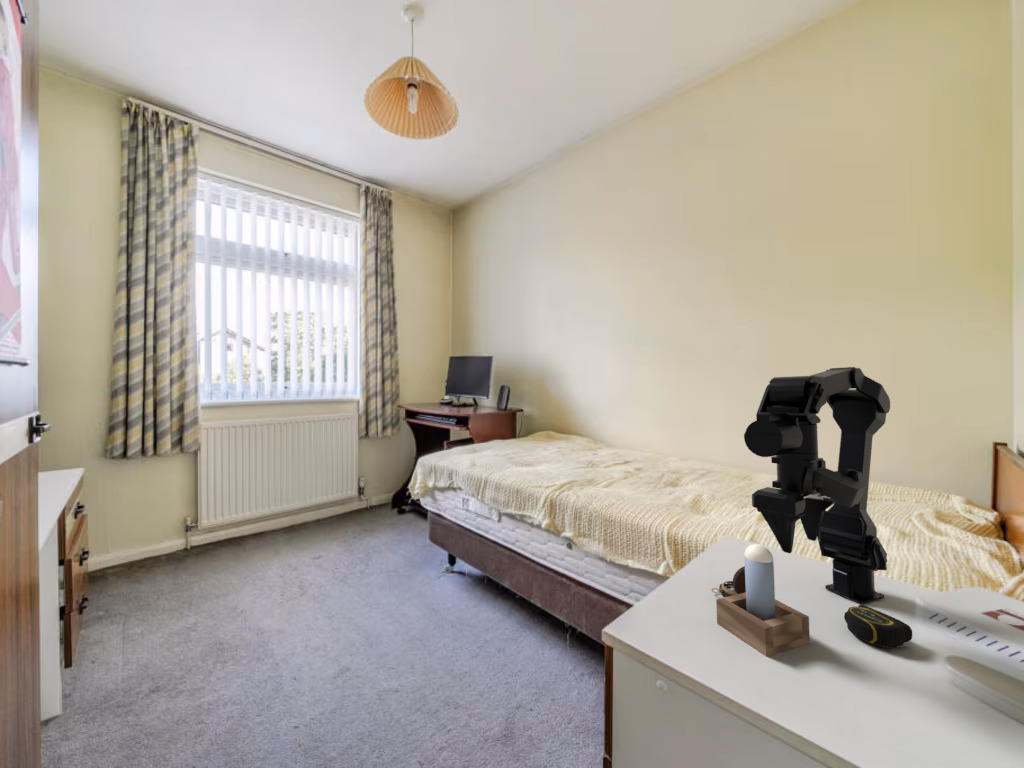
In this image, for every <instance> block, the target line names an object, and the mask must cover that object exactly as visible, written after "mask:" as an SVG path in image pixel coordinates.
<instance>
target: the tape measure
mask: <svg viewBox="0 0 1024 768" xmlns="http://www.w3.org/2000/svg"><path fill="white" fill-rule="evenodd" d="M843 617H844V621H845V622H846V626H847V629H848V631H849V632H850V633H851V634H852V635H854V636H855V637H857V638H859V640H863V641H865V642H867V643H870V644H871V645H872V644H873V645H875V646H879V647H882V648H891V649H895V648H900V647H902V646H903V645H904V644H906V643H908V642H910V641H911V640H912V639H913V630H912V628H911V627H910V625H908V624H907V623H905V622H903V621H901V620H900V619H897V618H895V617H893V616H891V615H889V614H887V613H884V612H881V611H880V610H877V609H874V608H872V607H870V606H867V605H866V604H860V605H858V606H851V607H849V608H847V611H846V612H844V616H843Z"/></svg>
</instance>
